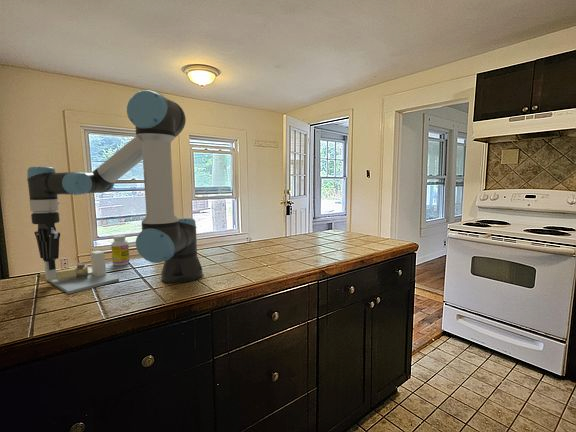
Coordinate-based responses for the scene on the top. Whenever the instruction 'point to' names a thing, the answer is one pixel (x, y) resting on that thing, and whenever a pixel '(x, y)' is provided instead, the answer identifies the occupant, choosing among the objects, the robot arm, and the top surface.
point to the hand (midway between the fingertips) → (51, 278)
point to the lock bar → (66, 273)
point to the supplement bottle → (120, 250)
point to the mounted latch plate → (87, 276)
